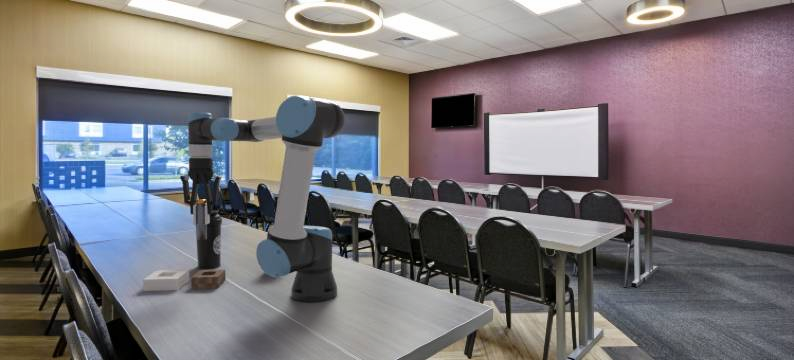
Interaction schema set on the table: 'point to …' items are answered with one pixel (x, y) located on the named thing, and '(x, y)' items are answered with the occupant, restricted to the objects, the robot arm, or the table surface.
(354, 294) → the table surface
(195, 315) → the table surface
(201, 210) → the pin
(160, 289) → the dock block
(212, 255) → the water bottle
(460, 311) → the table surface
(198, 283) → the mount block
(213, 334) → the table surface
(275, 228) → the robot arm
